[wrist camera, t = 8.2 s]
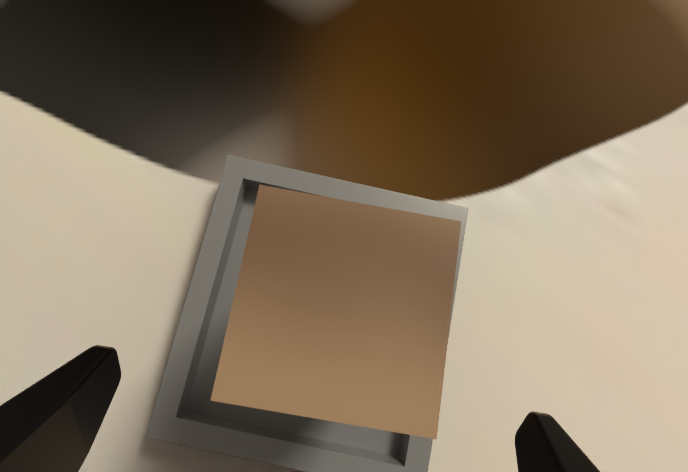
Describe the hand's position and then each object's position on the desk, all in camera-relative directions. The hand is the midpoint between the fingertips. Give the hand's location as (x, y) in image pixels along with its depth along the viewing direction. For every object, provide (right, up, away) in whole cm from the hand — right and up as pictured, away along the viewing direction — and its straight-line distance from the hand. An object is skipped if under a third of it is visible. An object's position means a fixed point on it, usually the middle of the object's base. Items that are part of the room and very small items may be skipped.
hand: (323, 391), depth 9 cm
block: (0, -1, +11) cm, 11 cm away
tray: (-1, -1, +12) cm, 12 cm away
